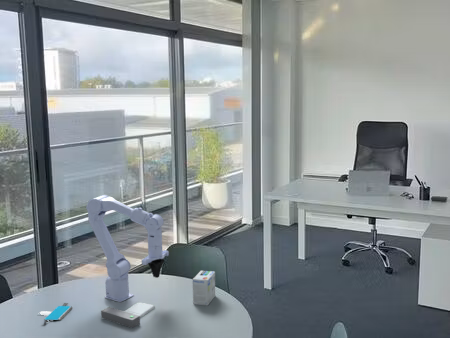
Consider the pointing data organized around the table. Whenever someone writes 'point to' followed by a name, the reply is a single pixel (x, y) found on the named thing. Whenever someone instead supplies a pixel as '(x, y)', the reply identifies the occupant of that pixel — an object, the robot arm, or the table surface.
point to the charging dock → (120, 317)
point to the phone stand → (56, 312)
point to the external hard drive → (140, 309)
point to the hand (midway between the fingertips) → (156, 276)
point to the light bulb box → (204, 287)
